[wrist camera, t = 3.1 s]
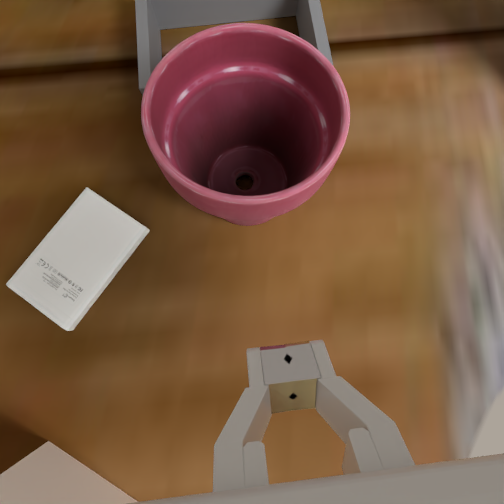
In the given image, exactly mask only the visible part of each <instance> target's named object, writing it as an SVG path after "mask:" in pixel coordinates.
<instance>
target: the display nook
mask: <svg viewBox="0 0 504 504" xmlns="http://www.w3.org/2000/svg"><path fill="white" fill-rule="evenodd" d="M135 7H136V30H137V53H138V76H139V90H140V92H141V94H142V96H143V93H144V90H145V87H146V84H147V81H148V79H149V77H150V76H151V74H152V72H153V70H154V69H155V67H156V66H157V64H158V63H159V62H160V61H161V59H162V50H161V35H160V30H162V29H172V28H182V27H192V26H201V25H211V24H221V23H231V22H241V21H251V20H261V19H271V18H280V17H290V16H296V19H297V25H298V30H299V36H300V38H302V39H304V40H305V41H307V42H308V43H310V44H311V45H313V46H314V47H315V48H316V49H318V50H319V51H320V52H321V53H322V54H323V55H324V56H325V57H326V58H327V59H328V60H329V61H330V63H331V64H332V65H333V62H332V57H331V52H330V48H329V43H328V38H327V33H326V28H325V24H324V19H323V14H322V9H321V4H320V0H135Z"/></svg>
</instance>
